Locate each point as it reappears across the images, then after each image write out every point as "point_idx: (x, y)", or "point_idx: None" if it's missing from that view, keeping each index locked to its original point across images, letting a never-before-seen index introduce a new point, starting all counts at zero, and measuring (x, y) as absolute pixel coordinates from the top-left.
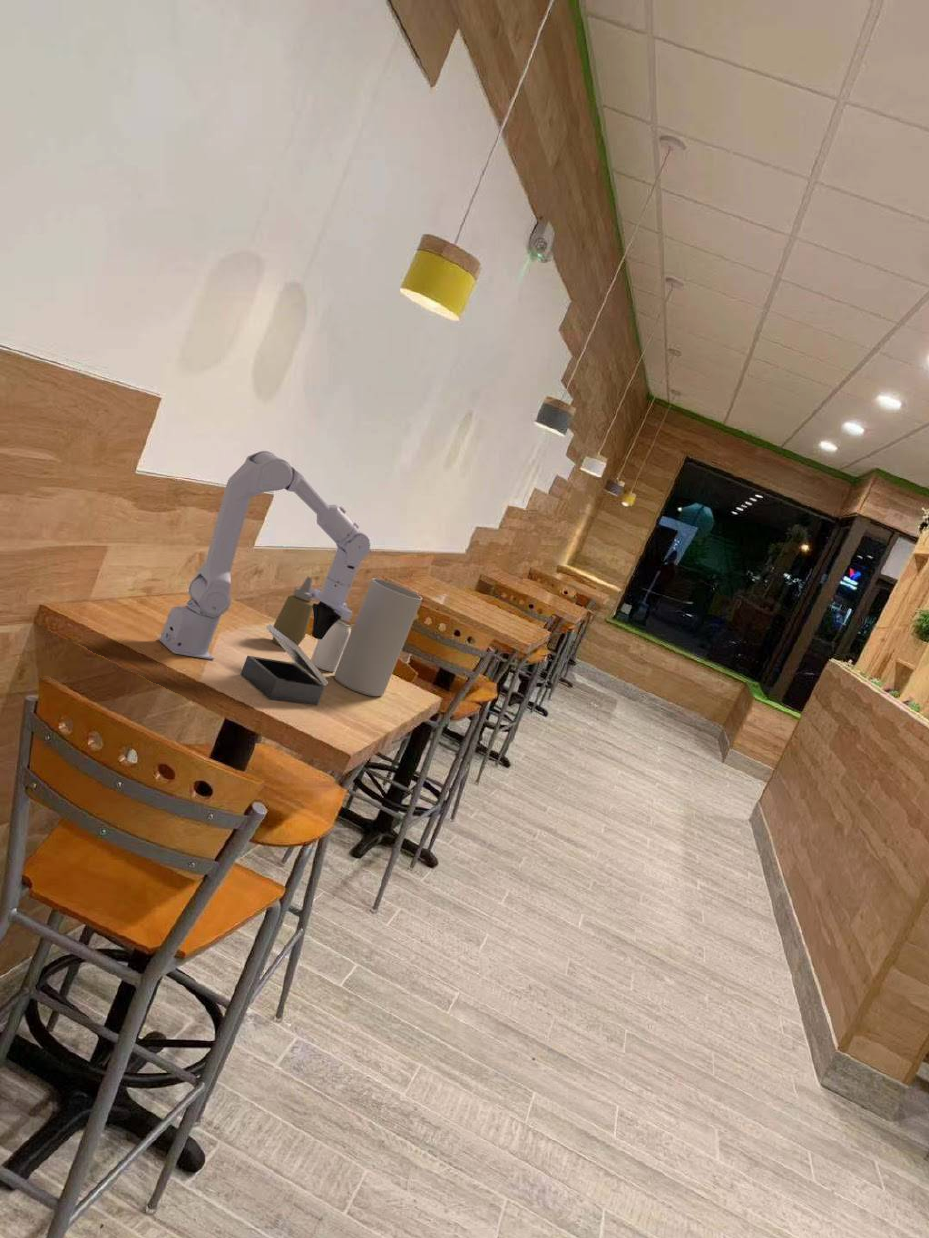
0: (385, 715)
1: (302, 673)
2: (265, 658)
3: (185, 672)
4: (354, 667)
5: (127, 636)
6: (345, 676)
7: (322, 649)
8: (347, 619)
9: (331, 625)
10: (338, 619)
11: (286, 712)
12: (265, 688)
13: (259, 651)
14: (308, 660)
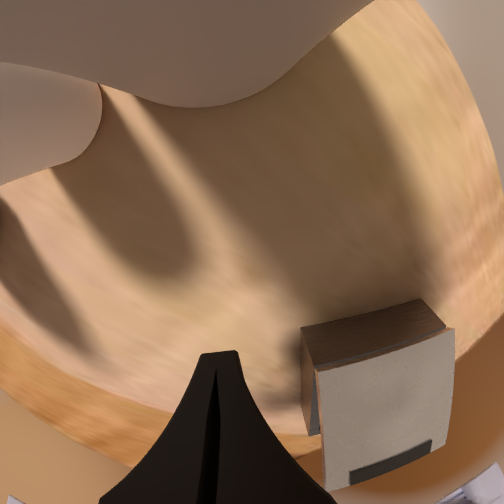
0: (438, 84)
1: None
2: (310, 417)
3: (320, 444)
4: (275, 75)
5: None
6: (241, 96)
7: (46, 162)
8: (484, 472)
9: (271, 433)
10: (315, 484)
11: None
12: None
13: (88, 322)
14: (448, 410)
